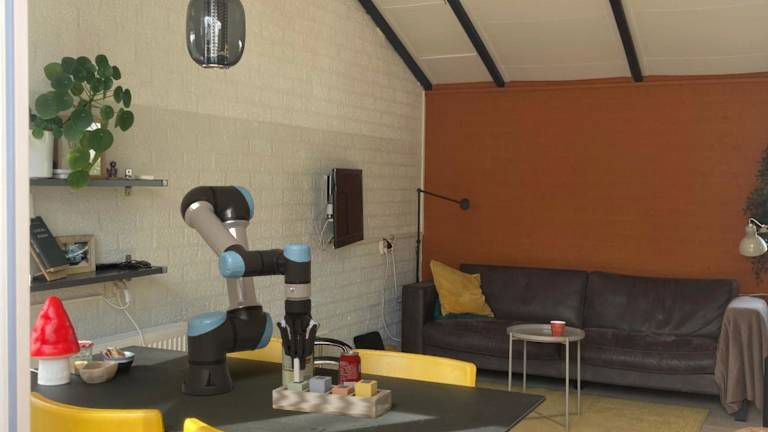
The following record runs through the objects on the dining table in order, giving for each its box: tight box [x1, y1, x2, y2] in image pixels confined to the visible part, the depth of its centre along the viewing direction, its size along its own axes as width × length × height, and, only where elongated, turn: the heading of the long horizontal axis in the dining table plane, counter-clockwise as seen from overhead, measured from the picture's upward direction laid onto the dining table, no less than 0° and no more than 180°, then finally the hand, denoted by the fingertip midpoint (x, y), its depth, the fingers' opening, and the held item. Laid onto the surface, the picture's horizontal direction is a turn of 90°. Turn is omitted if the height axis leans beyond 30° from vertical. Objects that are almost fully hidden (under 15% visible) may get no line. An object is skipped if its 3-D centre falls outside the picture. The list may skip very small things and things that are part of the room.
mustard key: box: [355, 379, 378, 398], centre depth 233 cm, size 5×5×5 cm
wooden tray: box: [272, 383, 392, 420], centre depth 237 cm, size 31×12×5 cm, turn 68°
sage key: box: [287, 381, 309, 391], centre depth 241 cm, size 5×5×5 cm
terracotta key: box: [332, 384, 354, 396], centre depth 235 cm, size 5×5×5 cm
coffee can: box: [280, 338, 316, 386], centre depth 263 cm, size 10×10×14 cm
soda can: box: [338, 350, 362, 387], centre depth 255 cm, size 7×7×12 cm
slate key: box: [310, 375, 333, 393], centre depth 238 cm, size 5×5×5 cm
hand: (298, 380), depth 240 cm, fingers closed
